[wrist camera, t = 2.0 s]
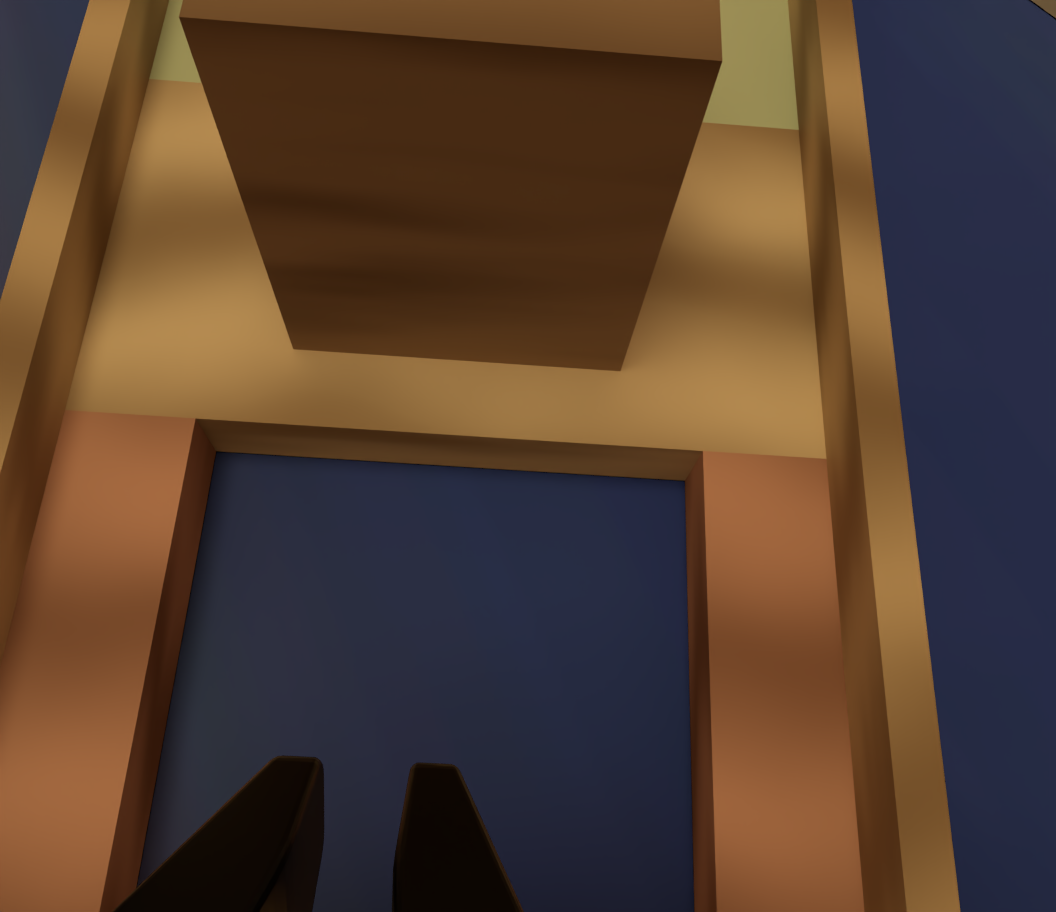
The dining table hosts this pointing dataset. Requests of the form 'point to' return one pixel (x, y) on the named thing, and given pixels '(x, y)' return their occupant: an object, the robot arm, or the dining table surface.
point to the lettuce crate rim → (1047, 6)
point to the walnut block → (459, 164)
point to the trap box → (479, 465)
